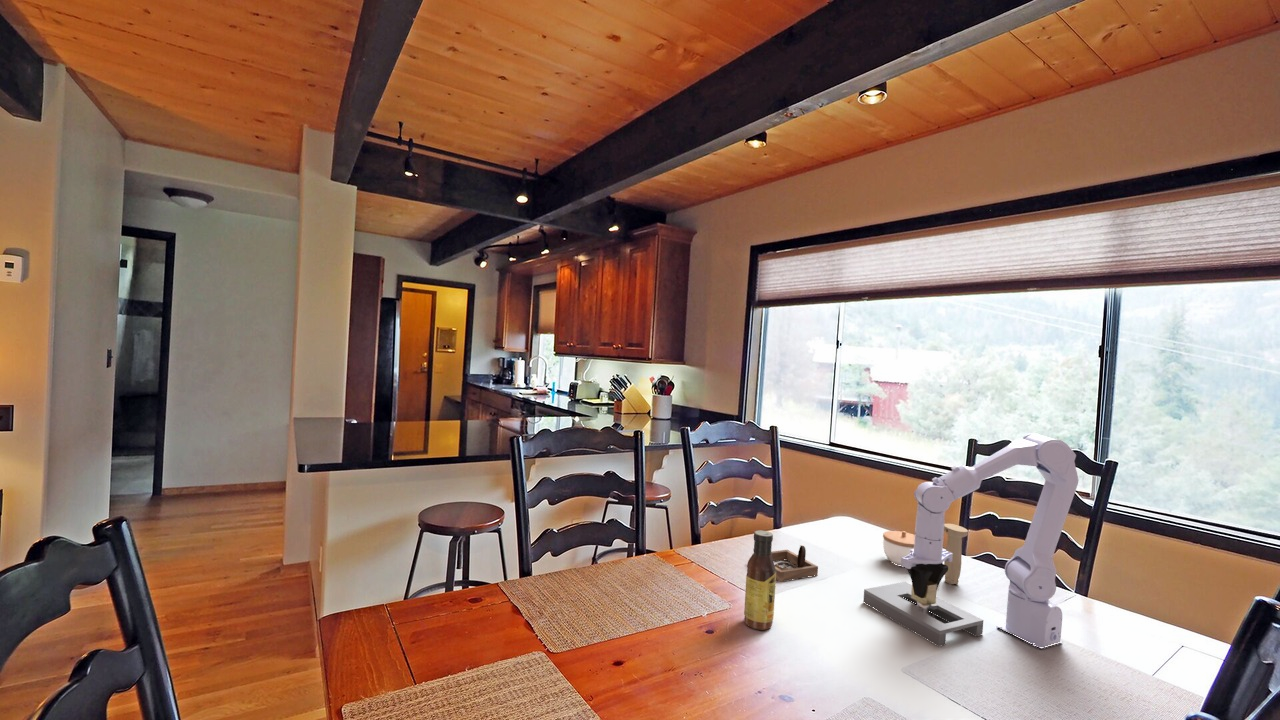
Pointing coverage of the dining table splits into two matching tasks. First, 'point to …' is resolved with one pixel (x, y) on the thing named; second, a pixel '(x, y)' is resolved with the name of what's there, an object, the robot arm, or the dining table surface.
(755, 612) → the sauce bottle
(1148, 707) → the dining table surface
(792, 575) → the rim
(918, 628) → the keyhole board
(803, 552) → the compass
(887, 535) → the lidded jar
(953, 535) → the handle
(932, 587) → the keyhole peg
